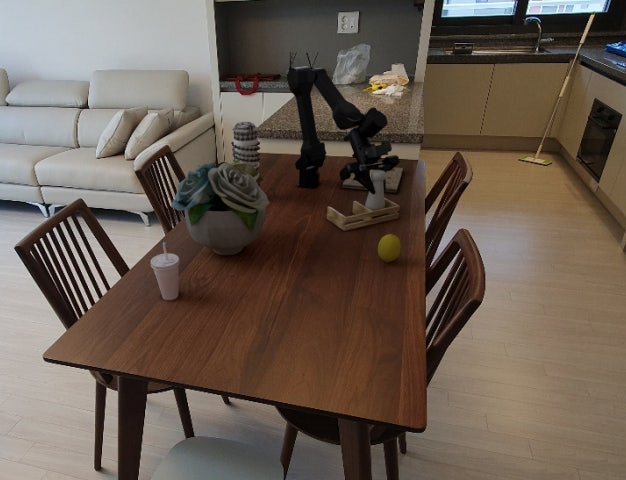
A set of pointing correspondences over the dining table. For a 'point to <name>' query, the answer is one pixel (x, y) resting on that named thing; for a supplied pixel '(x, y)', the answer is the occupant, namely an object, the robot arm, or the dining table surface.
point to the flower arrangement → (222, 205)
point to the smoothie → (166, 273)
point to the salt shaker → (376, 199)
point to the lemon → (389, 247)
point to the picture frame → (391, 179)
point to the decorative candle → (246, 145)
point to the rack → (363, 215)
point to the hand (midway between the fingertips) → (379, 192)
